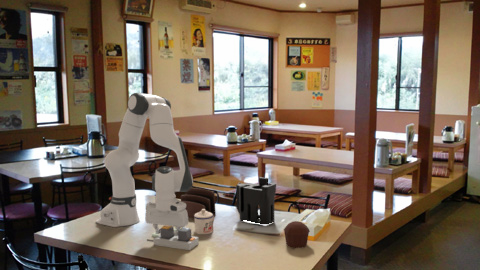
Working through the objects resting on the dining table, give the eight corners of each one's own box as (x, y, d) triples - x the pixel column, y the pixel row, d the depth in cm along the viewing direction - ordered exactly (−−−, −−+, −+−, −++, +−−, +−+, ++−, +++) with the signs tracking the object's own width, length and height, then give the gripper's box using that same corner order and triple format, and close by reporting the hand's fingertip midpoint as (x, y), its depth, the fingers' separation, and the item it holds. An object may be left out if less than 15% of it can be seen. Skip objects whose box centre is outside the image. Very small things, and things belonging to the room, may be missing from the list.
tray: (151, 238, 202) (151, 234, 202) (163, 231, 211) (163, 227, 211) (170, 240, 198) (170, 236, 198) (181, 233, 208) (181, 229, 207)
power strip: (142, 245, 194) (141, 235, 193) (152, 239, 201) (152, 229, 200) (189, 252, 184) (189, 242, 184) (198, 245, 192) (198, 235, 191)
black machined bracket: (267, 227, 214) (267, 184, 211) (233, 220, 226) (232, 179, 223) (279, 221, 224) (279, 179, 221) (246, 214, 236) (246, 174, 233)
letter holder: (187, 210, 246) (186, 186, 244) (215, 215, 236) (215, 190, 234) (175, 215, 238) (174, 190, 236) (205, 220, 227) (204, 194, 226)
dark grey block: (178, 246, 189) (177, 229, 188) (183, 243, 192) (182, 226, 192) (187, 247, 187) (186, 230, 186) (191, 244, 191) (191, 227, 190)
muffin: (283, 239, 197) (282, 218, 196) (307, 239, 197) (307, 218, 196) (285, 249, 185) (284, 227, 184) (311, 249, 185) (311, 227, 184)
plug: (160, 243, 192) (160, 227, 191) (165, 240, 196) (165, 224, 195) (169, 245, 191) (168, 228, 190) (174, 241, 195) (173, 225, 194)
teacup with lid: (205, 237, 202) (204, 213, 200) (190, 234, 207) (189, 210, 206) (221, 230, 212) (220, 207, 210) (206, 227, 217) (205, 204, 215)
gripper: (141, 203, 192) (143, 234, 194) (182, 208, 184) (183, 239, 186) (149, 200, 198) (151, 229, 200) (189, 204, 190) (190, 234, 192)
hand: (167, 234), depth 193 cm, fingers open, 8 cm apart
